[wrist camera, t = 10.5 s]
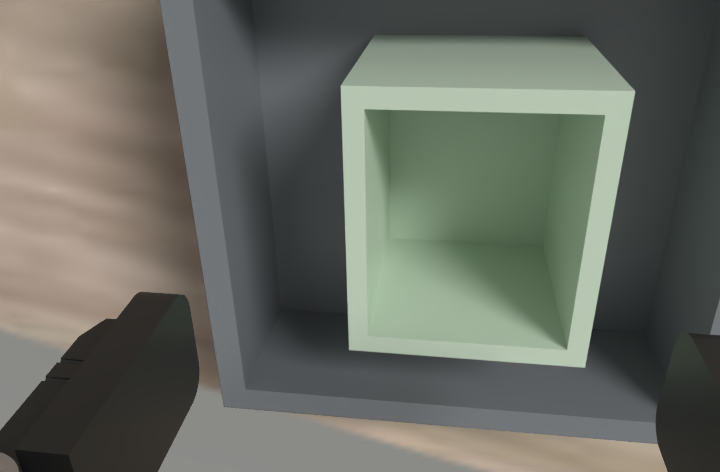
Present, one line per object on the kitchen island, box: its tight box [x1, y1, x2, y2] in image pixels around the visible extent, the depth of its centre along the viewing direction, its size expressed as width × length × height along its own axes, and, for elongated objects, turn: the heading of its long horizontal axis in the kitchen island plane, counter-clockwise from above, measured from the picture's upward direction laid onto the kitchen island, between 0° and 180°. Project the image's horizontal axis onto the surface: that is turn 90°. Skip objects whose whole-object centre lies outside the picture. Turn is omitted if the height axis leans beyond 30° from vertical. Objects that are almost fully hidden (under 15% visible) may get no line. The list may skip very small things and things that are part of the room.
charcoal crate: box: [160, 0, 720, 444], centre depth 19 cm, size 15×15×6 cm
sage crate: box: [341, 35, 635, 368], centre depth 17 cm, size 6×7×6 cm
